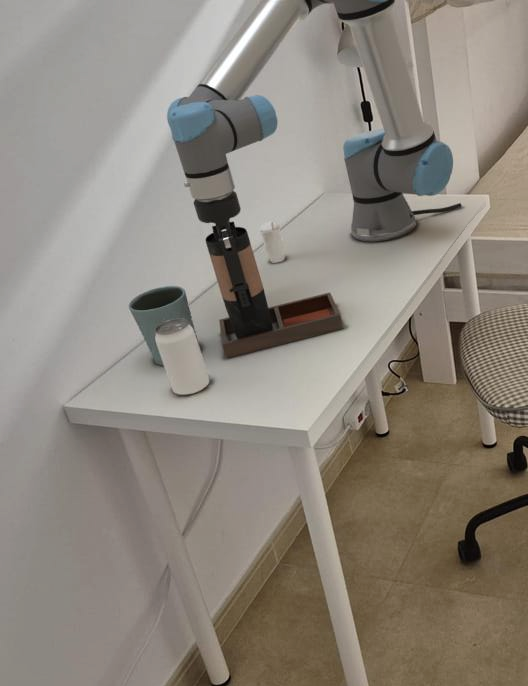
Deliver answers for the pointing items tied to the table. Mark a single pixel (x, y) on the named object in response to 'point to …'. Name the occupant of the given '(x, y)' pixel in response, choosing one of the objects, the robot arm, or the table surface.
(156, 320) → the green tapered cup
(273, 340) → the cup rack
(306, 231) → the table surface
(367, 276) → the table surface
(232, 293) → the travel mug
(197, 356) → the can
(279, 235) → the milkshake
